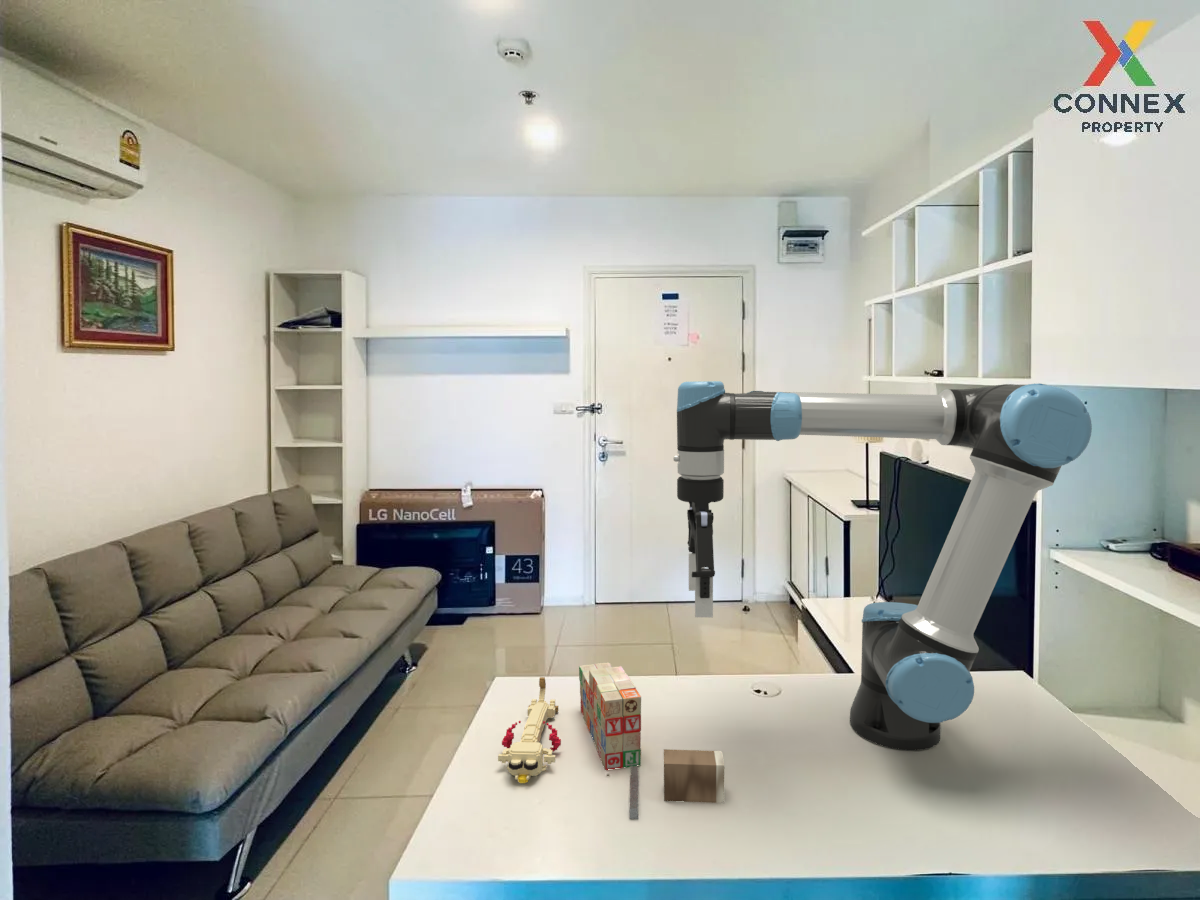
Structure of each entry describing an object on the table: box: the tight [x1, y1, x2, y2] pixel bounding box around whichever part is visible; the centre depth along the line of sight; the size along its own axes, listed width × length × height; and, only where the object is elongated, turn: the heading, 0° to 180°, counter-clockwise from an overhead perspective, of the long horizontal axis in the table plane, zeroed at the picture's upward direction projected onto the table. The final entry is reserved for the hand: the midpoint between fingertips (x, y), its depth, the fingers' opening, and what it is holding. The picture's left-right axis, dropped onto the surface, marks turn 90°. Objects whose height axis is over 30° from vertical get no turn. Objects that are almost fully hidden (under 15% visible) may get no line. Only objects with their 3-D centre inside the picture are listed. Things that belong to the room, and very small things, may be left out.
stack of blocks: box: [578, 662, 642, 771], centre depth 122 cm, size 21×6×12 cm, turn 13°
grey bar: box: [629, 766, 639, 820], centre depth 104 cm, size 1×11×2 cm, turn 177°
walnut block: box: [663, 749, 725, 804], centre depth 104 cm, size 6×4×9 cm
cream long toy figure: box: [497, 676, 562, 784], centre depth 119 cm, size 10×9×25 cm
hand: (699, 602), depth 113 cm, fingers open, 13 cm apart
